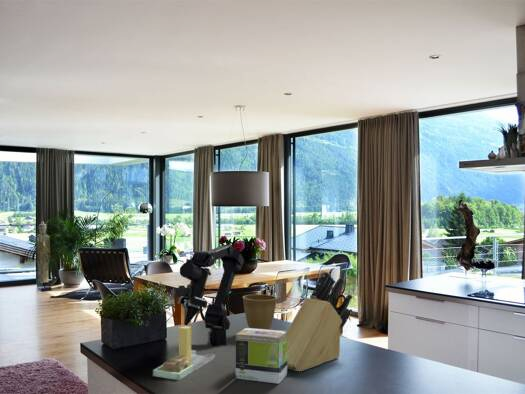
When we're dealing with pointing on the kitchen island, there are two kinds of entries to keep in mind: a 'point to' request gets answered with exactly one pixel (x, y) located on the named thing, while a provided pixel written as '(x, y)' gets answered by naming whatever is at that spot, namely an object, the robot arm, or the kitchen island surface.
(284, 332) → the tea box
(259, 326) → the plant pot
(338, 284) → the knife block
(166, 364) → the walnut block
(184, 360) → the maple block
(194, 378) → the kitchen island surface
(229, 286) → the robot arm
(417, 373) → the kitchen island surface
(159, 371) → the tray
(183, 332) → the tall yellow pillar
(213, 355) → the slot rail
